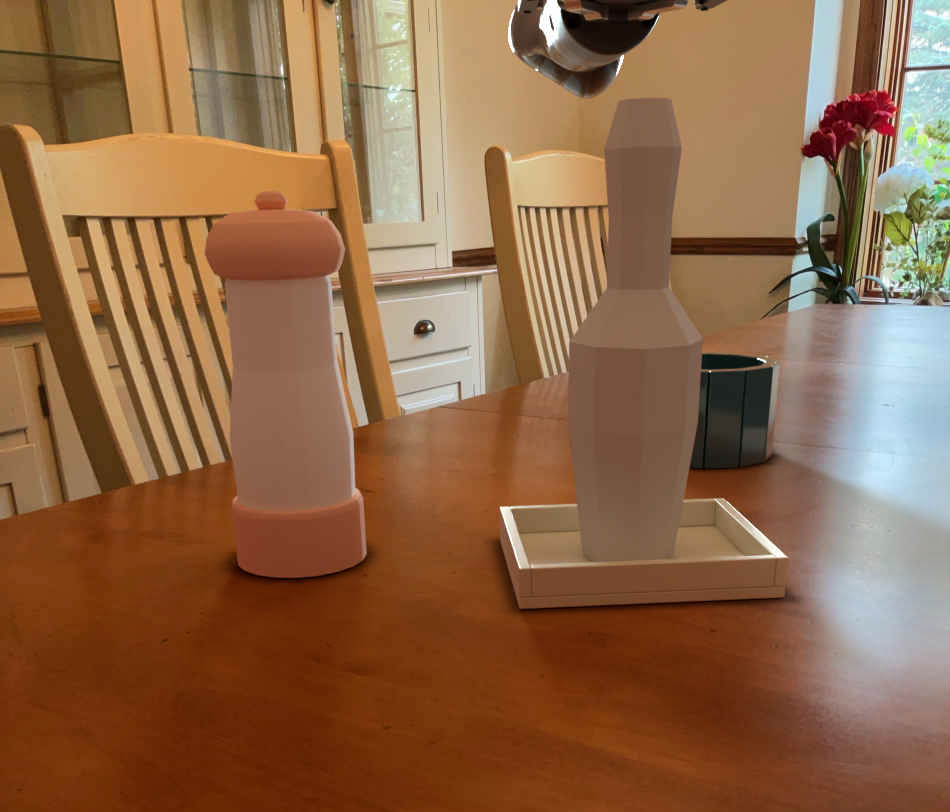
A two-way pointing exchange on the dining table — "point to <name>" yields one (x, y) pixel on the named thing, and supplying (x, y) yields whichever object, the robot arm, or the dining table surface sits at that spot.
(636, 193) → the faceted bottle
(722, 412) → the holder
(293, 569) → the salt shaker
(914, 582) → the dining table surface
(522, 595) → the tray
